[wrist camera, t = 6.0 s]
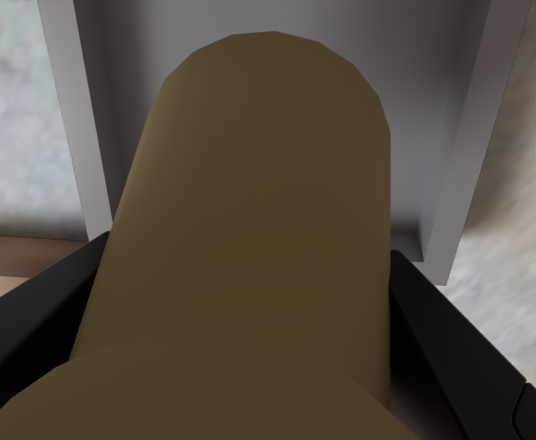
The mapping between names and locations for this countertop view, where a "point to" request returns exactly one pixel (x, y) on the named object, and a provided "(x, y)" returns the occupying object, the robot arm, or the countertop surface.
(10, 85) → the countertop surface
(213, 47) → the cork
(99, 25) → the tray
